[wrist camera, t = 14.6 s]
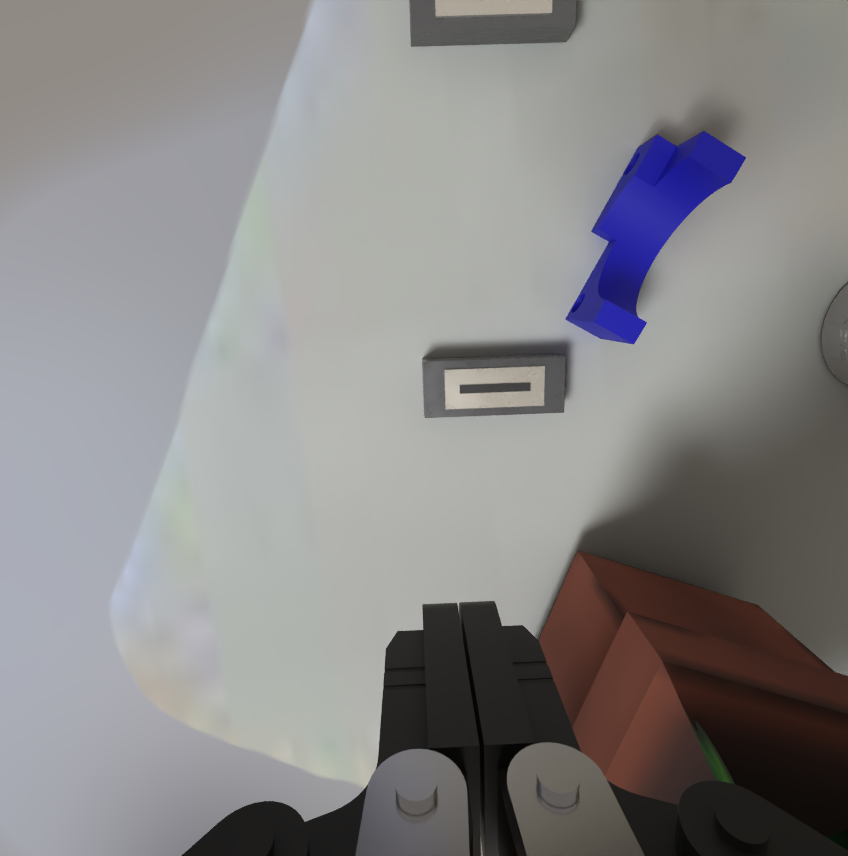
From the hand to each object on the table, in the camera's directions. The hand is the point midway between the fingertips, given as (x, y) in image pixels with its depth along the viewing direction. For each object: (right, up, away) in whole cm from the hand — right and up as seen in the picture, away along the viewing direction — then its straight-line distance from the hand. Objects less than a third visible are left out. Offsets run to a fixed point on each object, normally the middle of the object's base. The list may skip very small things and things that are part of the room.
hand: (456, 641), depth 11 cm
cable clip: (+13, +17, +26) cm, 34 cm away
